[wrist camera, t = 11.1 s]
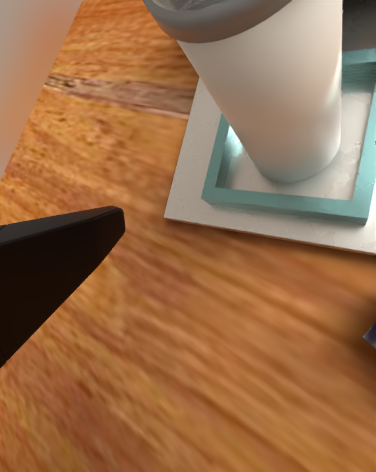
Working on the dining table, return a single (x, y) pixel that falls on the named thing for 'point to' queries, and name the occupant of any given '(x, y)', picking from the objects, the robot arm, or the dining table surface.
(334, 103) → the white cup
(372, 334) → the light grey long piece
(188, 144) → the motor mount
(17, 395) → the dining table surface
